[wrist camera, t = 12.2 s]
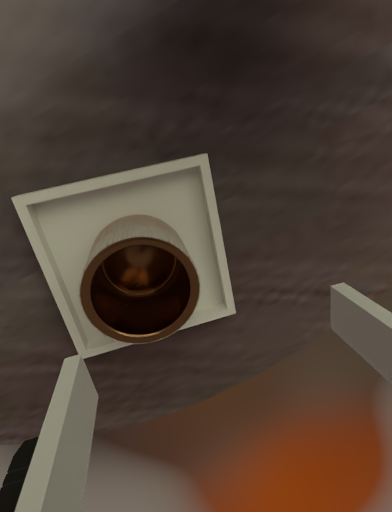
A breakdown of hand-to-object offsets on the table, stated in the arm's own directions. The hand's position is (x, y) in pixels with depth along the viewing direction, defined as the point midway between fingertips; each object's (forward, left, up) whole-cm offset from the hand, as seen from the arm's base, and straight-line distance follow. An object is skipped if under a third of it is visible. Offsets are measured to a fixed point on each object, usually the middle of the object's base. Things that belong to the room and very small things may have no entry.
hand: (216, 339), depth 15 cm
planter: (+2, -4, -22) cm, 22 cm away
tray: (+2, -4, -22) cm, 22 cm away
